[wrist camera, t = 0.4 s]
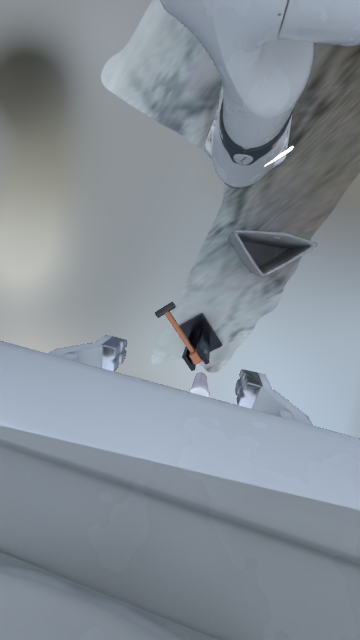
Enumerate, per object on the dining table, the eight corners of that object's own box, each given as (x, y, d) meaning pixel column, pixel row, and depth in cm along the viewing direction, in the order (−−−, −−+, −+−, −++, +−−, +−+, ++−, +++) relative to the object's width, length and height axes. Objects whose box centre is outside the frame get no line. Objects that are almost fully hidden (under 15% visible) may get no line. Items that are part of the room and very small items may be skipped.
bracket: (178, 326, 61) (166, 348, 46) (202, 312, 58) (198, 331, 43) (197, 356, 63) (192, 385, 48) (222, 344, 60) (224, 371, 45)
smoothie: (198, 387, 67) (194, 419, 54) (188, 373, 66) (181, 402, 53) (214, 380, 65) (214, 411, 52) (203, 365, 64) (201, 393, 51)
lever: (156, 310, 47) (153, 313, 45) (173, 300, 45) (170, 302, 43) (191, 362, 50) (190, 367, 47) (207, 354, 48) (207, 359, 46)
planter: (221, 267, 53) (225, 271, 35) (228, 236, 51) (237, 224, 32) (281, 278, 52) (317, 288, 33) (291, 247, 49) (337, 240, 31)
